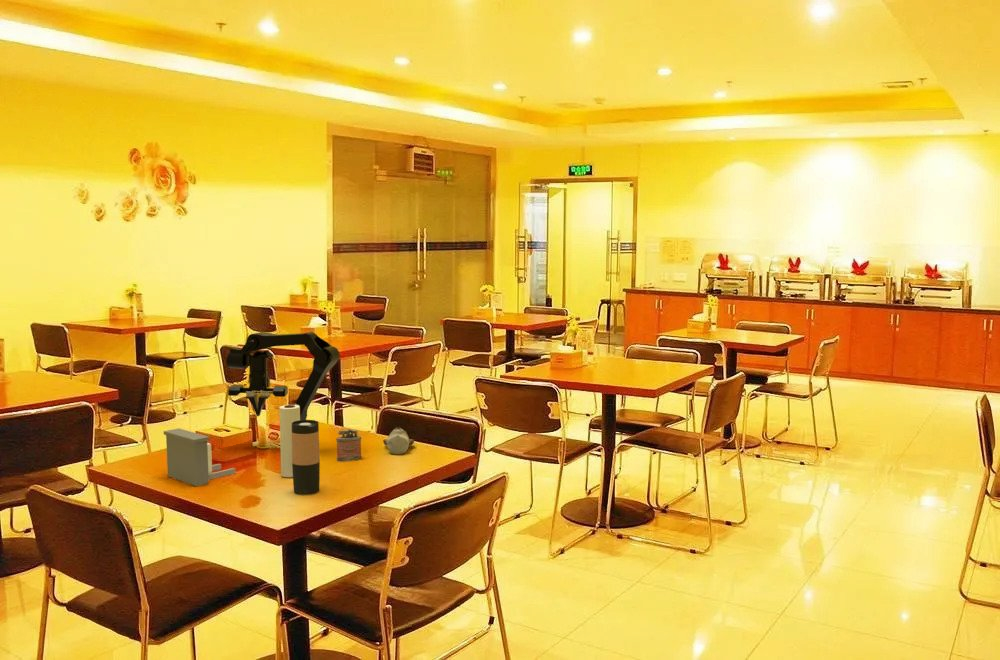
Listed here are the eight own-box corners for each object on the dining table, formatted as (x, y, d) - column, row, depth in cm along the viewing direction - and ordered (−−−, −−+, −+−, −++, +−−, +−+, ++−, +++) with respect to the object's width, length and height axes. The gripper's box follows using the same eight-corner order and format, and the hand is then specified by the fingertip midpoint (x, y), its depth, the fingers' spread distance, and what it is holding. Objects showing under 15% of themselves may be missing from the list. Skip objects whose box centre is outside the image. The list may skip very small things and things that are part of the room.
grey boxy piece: (212, 466, 273) (210, 422, 272) (243, 475, 262) (241, 430, 261) (165, 476, 261) (163, 431, 260) (195, 487, 250) (193, 439, 249)
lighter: (360, 457, 284) (360, 427, 283) (362, 460, 281) (361, 429, 280) (336, 459, 282) (335, 429, 281) (337, 462, 279) (336, 431, 277)
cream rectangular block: (201, 472, 265) (200, 440, 263) (212, 476, 261) (211, 443, 260) (189, 475, 261) (188, 443, 260) (200, 479, 258) (199, 446, 256)
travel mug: (296, 487, 251) (295, 419, 248) (323, 487, 250) (321, 419, 248) (289, 495, 243) (287, 425, 241) (316, 495, 243) (315, 425, 241)
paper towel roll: (288, 479, 259) (286, 408, 257) (277, 475, 263) (275, 406, 261) (308, 474, 264) (307, 405, 262) (297, 470, 268) (295, 402, 266)
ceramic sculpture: (381, 430, 285) (383, 423, 300) (381, 456, 285) (383, 447, 300) (413, 430, 286) (414, 422, 301) (413, 456, 286) (414, 447, 301)
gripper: (290, 366, 297) (290, 411, 299) (235, 365, 296) (235, 410, 298) (284, 372, 286) (284, 418, 288) (227, 371, 285) (227, 417, 287)
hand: (258, 415), depth 291 cm, fingers closed
